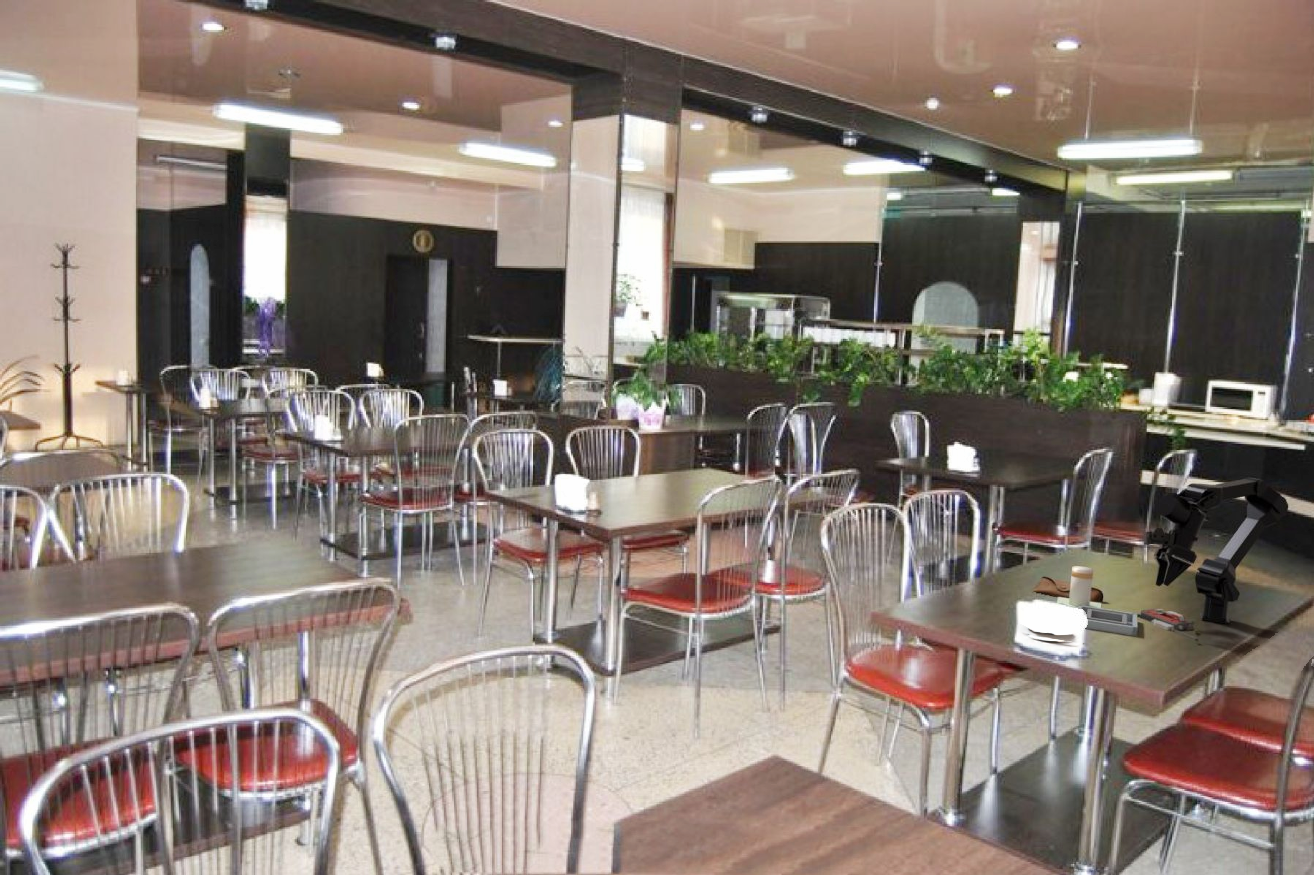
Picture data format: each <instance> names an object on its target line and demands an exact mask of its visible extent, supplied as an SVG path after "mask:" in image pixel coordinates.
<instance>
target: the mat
mask: <svg viewBox="0 0 1314 875" xmlns="http://www.w3.org/2000/svg"><path fill="white" fill-rule="evenodd" d="M1056 600H1057V601H1056V604H1057V603H1063V604H1065V605H1067V606H1072V605H1070V604H1069V598H1063V597H1057V599H1056ZM1102 605H1103V604H1102V602H1099V603H1097V602H1090V606H1089V607H1096V608H1102ZM1073 607H1075V606H1073ZM1077 608H1078V607H1077Z"/></svg>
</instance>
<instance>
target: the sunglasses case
mask: <svg viewBox="0 0 1314 875" xmlns="http://www.w3.org/2000/svg"><path fill="white" fill-rule="evenodd" d="M1070 585H1071V582H1067V581H1063V580H1058V579H1054V578H1051V577H1048V576H1042V577H1041V579H1040V580H1039V582H1037V584H1036V586H1035V587H1034V588H1033V590H1032V591H1033V592H1036V593H1035V594H1038V593H1041V594H1040V595H1043V594H1044V596H1047V595H1049V596H1048V597H1052V598H1058V597H1063V598H1069V595H1070ZM1033 592H1032V593H1033ZM1103 601H1104V593H1103V591H1102V590H1101V589H1099V588H1096V587H1091V597H1090V602H1097V603H1102V602H1103Z"/></svg>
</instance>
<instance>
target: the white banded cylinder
mask: <svg viewBox="0 0 1314 875" xmlns="http://www.w3.org/2000/svg"><path fill="white" fill-rule="evenodd" d="M1070 575H1071V577H1070V578H1071V579H1070V583H1071V585H1070V595H1069V604H1070V605H1072V606H1075V607H1078V605H1082V606H1090V597H1091V587H1092V586H1093V575H1094V569H1093V568H1091V567H1087V566H1078V565H1075V566H1072V567H1071V574H1070Z"/></svg>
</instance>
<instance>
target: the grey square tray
mask: <svg viewBox="0 0 1314 875" xmlns="http://www.w3.org/2000/svg"><path fill="white" fill-rule="evenodd" d="M1078 609H1083V610H1084V611H1085V612H1086V614H1087V619H1088V625H1087V628H1086V629H1089V630H1094V631H1101V632H1106V633H1107V632H1108V633H1112V634H1113V633H1114V634H1119V635H1127V636H1133V637H1137V636H1138V635H1137V634H1138V617H1137V614H1138V613H1134V612H1127V611H1120V610H1114V609H1110V608H1109V609H1108V608H1103V607H1101V608H1096V607H1089V606H1082V605H1078Z"/></svg>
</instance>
